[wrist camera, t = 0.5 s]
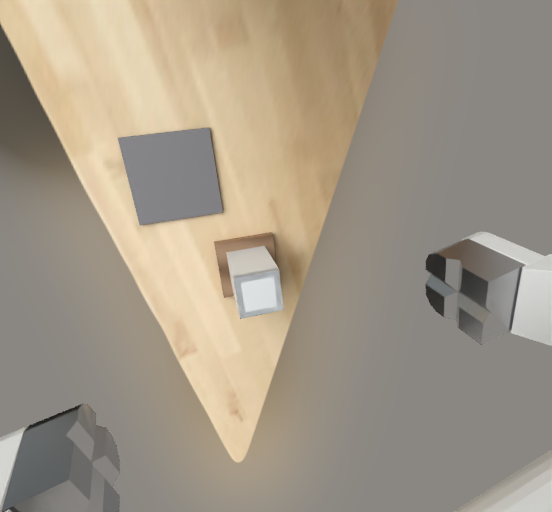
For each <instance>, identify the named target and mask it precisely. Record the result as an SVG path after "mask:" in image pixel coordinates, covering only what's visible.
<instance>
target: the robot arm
mask: <svg viewBox="0 0 552 512" xmlns="http://www.w3.org/2000/svg"><path fill="white" fill-rule="evenodd" d="M426 270H427V271H428V272H429V273H430V277H429V279H428V280H427V282H426V296H427V298H428V300H429V303H430V305H431V306H432V307H433V308H434V309H435V311H436V312H438V313H439V314H440V315H441V316H443V317H444V318H448V319H453V320H456V322H457V325H458V328H459V329H460V330H461V331H463V332H464V333H465V334H467V335H468V336H469V337H471V338H472V339H474V340H475V341H476V342H478V343H479V344H480V345H483V344H485V343H487V342H489V341H491V340H493V339H495V338H497V337H499V336H501V335H504V334H506V333H508V332H510V331H511V333H513V334H516V335H519V336H522V337H525V338H528V339H532V340H535V341H538V342H541V343H545V344H547V345H551V346H552V254H550V255H548V256H543V255H540V254H537V253H535V252H533V251H531V250H528V249H526V248H523V247H521V246H519V245H516V244H514V243H512V242H509V241H507V240H504V239H502V238H500V237H497V236H495V235H492V234H490V233H488V232H477V233H475V234H473V235H471V236H469V237H466V238H464V239H462V240H461V241H458V242H456V243H454V244H452V245H449V246H447V247H445V248H443V249H440V250H438V251H436V252H434V253H431V254H429V255H428V257H427V259H426ZM119 474H120V459H119V455H118V450H117V445H116V443H115V441H114V439H113V437H112V435H111V433H110V432H109V430H108V429H107V428H105V427H102V426H97V425H96V413H95V412H94V411H93V409H92V408H91V407H90V406H89V405H88V404H81V405H78V406H75V407H73V408H70V409H68V410H66V411H63V412H61V413H58V414H56V415H53V416H51V417H48V418H46V419H44V420H41V421H38V422H36V423H34V424H31V425H29V426H28V427H25V428H22V429H20V430H18V431H15V432H13V433H10V434H8V435H5V436H3V437H1V438H0V512H119V507H120V505H119V504H120V496H119V494H118V493H117V492H116V491H115V490H114V488H113V485H114V483H115V481H116V480H117V478H118V476H119ZM454 512H552V450H551V451H549V452H547V453H546V454H544V455H543V456H541V457H539V458H538V459H536V460H535V461H533V462H532V463H530V464H528V465H527V466H525V467H523V468H522V469H520V470H519V471H517V472H516V473H514V474H512V475H511V476H509V477H508V478H506V479H504V480H503V481H501V482H500V483H498V484H497V485H495V486H493V487H492V488H490V489H488V490H487V491H485V492H484V493H482V494H481V495H479V496H477V497H476V498H474V499H473V500H471V501H469V502H468V503H466V504H465V505H463V506H462V507H460V508H458V509H457V510H455V511H454Z"/></svg>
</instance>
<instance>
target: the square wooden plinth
mask: <svg viewBox="0 0 552 512" xmlns="http://www.w3.org/2000/svg"><path fill="white" fill-rule="evenodd" d="M214 243H215V249H216V255H217V260H218V266H219V272H220V277H221V283H222V289H223V294H224V298H225V297H230V296H234V293H233V289H232V284H231V278H230V272H229V266H228V260H227V254H226V252H232V251H238V250H243V249H249V248H255V247H261V246H265V247H266V249H267V251H268V252H269V254H270V255H271V257H272V259H273V260H274V262H275V264H276V258H275V249H274V240H273V235H272V233H265V234H259V235H253V236H247V237H241V238H235V239H229V240H223V241H217V242H214Z"/></svg>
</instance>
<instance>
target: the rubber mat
mask: <svg viewBox="0 0 552 512" xmlns="http://www.w3.org/2000/svg"><path fill="white" fill-rule="evenodd" d="M118 140H119V144H120V148H121V152H122V156H123V160H124V164H125V168H126V172H127V176H128V180H129V184H130V188H131V192H132V196H133V200H134V204H135V208H136V212H137V216H138V220H139V224H140V225H144V224H151V223H157V222H164V221H170V220H177V219H183V218H190V217H196V216H203V215H209V214H216V213H222V212H223V210H222V204H221V198H220V191H219V185H218V179H217V173H216V167H215V160H214V154H213V148H212V142H211V136H210V129H209V128H201V129H192V130H183V131H175V132H166V133H157V134H148V135H139V136H130V137H122V138H118Z"/></svg>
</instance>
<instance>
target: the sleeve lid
mask: <svg viewBox="0 0 552 512" xmlns="http://www.w3.org/2000/svg"><path fill="white" fill-rule="evenodd" d="M226 254H227V260H228V266H229V272H230V278H231V284H232V289H233V293H234V297H235V301H236V305H237V309H238V312H239V316H240V319H242V318H247V317H252V316H257V315H261V314H266V313H271V312H276V311H281V310H284V309H283V300H282V290H281V281H280V272H279V269H278V267H277V265H276V264H275V262H274V260H273V259H272V257H271V255H270V254H269V252H268V251H267V249H266V247H265V246H261V247H255V248H249V249H243V250H238V251H232V252H226Z"/></svg>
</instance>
